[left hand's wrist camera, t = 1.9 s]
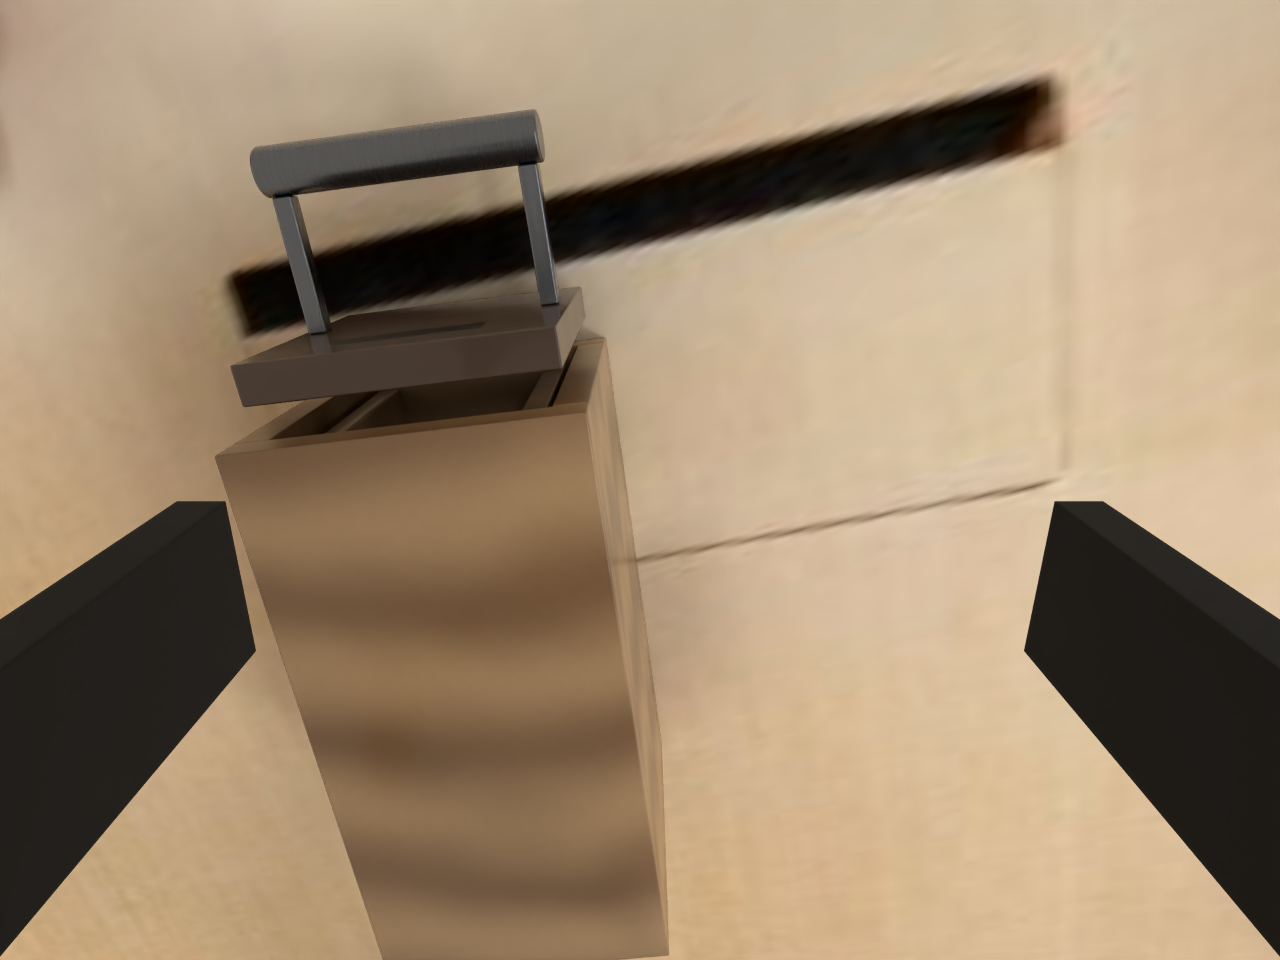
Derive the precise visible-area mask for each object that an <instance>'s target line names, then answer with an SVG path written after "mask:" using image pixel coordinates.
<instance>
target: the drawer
mask: <svg viewBox="0 0 1280 960" xmlns="http://www.w3.org/2000/svg"><path fill="white" fill-rule="evenodd" d="M544 158H545V149H544V140H543V134H542V128H541V123H540V119H539V116H538V113H537V111H536V110H534V109H532V110H524V111H517V112H510V113H502V114H495V115H488V116H480V117H473V118H466V119H458V120H451V121H444V122H436V123H429V124H422V125H414V126H407V127H399V128H392V129H385V130H377V131H370V132H363V133H355V134H348V135H341V136H333V137H326V138H319V139H311V140H304V141H297V142H289V143H282V144H275V145H267V146H260V147H255V148H254V149H253V150H252V151H251V154H250V166H251V171H252V174H253V177H254V180H255V182H256V184H257V186H258V188H259V189H260V191H261V192H262V193H263V194H264V195H265V196H266V197H269V198H273V203H274V207H275V211H276V214H277V218H278V222H279V225H280V229H281V233H282V236H283V240H284V244H285V247H286V251H287V255H288V258H289V262H290V266H291V269H292V273H293V277H294V280H295V284H296V288H297V291H298V295H299V299H300V302H301V306H302V310H303V313H304V317H305V321H306V324H307V328H308V332H309V333H307V334H304V335H302V336H299V337H297V338H295V339H292V340H290V341H288V342H285V343H283V344H281V345H278V346H276V347H274V348H271V349H269V350H267V351H264V352H262V353H259V354H257V355H255V356H252V357H250V358H248V359H245V360H243V361H241V362H238V363H236V364H234V365H232V366H231V370H232V373H233V377H234V380H235V383H236V386H237V389H238V392H239V396H240V399H241V402H242V405H243V407H251V406H259V405H267V404H276V403H284V402H292V401H301V400H309V399H317V398H325V397H334V396H342V395H350V394H359V393H367V392H375V391H380V392H379V393H377V394H376V395H375V396H373V397H372V398H371V399H369V400H368V401H367V402H365V403H364V404H363V405H361V406H360V407H359V408H358V409H356V410H355V411H354V412H352V413H351V414H350V415H348V416H347V417H346V418H344V419H343V420H342V421H341V422H339V423H338V424H337V425H335V426H334V427H333V428H331V429H330V430H329V431H327V432H326V433H335V432H343V431H352V430H360V429H369V428H377V427H386V426H394V425H402V424H411V423H419V422H428V421H436V420H445V419H453V418H462V417H470V416H479V415H487V414H496V413H504V412H513V411H521V410H530V409H538V408H547V407H553V404H554V402H555V400H556V397H557V395H558V392H559V390H560V388H561V385H562V383H563V380H564V378H565V376H566V373H567V369H566V365H564V363H565V361H566V359H567V356H568V354H569V352H570V350H571V348H572V345H573V343H574V341H575V339H576V337H577V334H578V332H579V330H580V328H581V326H582V323H583V321H584V319H585V311H584V304H583V297H582V290H581V287H572V288H564V289H558V282H557V276H556V269H555V263H554V256H553V250H552V244H551V237H550V231H549V224H548V218H547V211H546V205H545V199H544V192H543V186H542V179H541V173H540V166H539V164H537V163H541V162H543V161H544ZM518 165H519V166H518ZM511 166H518V170H519V177H520V183H521V189H522V195H523V201H524V207H525V213H526V219H527V225H528V231H529V237H530V243H531V249H532V255H533V261H534V268H535V274H536V280H537V286H538V292H532V293H524V294H516V295H508V296H500V297H492V298H484V299H476V300H468V301H460V302H452V303H444V304H436V305H428V306H420V307H412V308H404V309H396V310H388V311H380V312H372V313H364V314H356V315H349V316H347V317H344V318H342V319H340V320H337V321H335V322H332V323H331V322H330V319H329V315H328V311H327V307H326V303H325V300H324V296H323V292H322V288H321V284H320V280H319V277H318V273H317V269H316V265H315V261H314V258H313V254H312V250H311V246H310V242H309V238H308V235H307V231H306V227H305V223H304V219H303V215H302V212H301V208H300V204H299V200H298V197H297V196H292V195H300V194H307V193H315V192H322V191H330V190H337V189H345V188H352V187H360V186H367V185H375V184H383V183H390V182H398V181H405V180H413V179H420V178H428V177H435V176H443V175H450V174H458V173H465V172H473V171H480V170H488V169H495V168H503V167H511ZM326 433H325V434H326Z"/></svg>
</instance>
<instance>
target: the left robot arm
mask: <svg viewBox="0 0 1280 960" xmlns="http://www.w3.org/2000/svg"><path fill="white" fill-rule="evenodd" d="M255 651H256V649H255V644H254V639H253V634H252V629H251V624H250V619H249V615H248V610H247V605H246V600H245V595H244V590H243V585H242V580H241V576H240V571H239V566H238V561H237V556H236V551H235V546H234V541H233V536H232V532H231V527H230V522H229V517H228V512H227V507H226V502H225V501H177V502H175V503H174V504H172V505H171V506H169V507H168V508H166V509H165V510H163V511H162V512H160V513H159V514H157V515H156V516H154V517H153V518H151V519H150V520H148V521H147V522H145V523H144V524H142V525H141V526H139V527H138V528H136V529H135V530H133V531H132V532H130V533H129V534H127V535H126V536H124V537H123V538H121V539H120V540H118V541H117V542H115V543H114V544H112V545H111V546H109V547H108V548H106V549H105V550H103V551H102V552H100V553H99V554H97V555H96V556H94V557H93V558H91V559H90V560H88V561H87V562H85V563H84V564H83V565H81V566H80V567H78V568H77V569H75V570H74V571H72V572H71V573H69V574H68V575H66V576H65V577H63V578H62V579H60V580H59V581H57V582H56V583H54V584H53V585H51V586H50V587H48V588H47V589H45V590H44V591H42V592H41V593H39V594H38V595H36V596H35V597H33V598H32V599H30V600H29V601H27V602H26V603H24V604H23V605H21V606H20V607H18V608H17V609H15V610H14V611H12V612H11V613H9V614H8V615H6V616H5V617H3V618H2V619H0V956H1V955H2V954H3V953H4V951H5V950H6V949H7V948H8V947H9V945H10V944H11V943H12V942H13V941H14V939H15V938H16V937H17V936H18V935H19V933H20V932H21V931H22V930H23V929H24V927H25V926H26V925H27V924H28V923H29V921H30V920H31V919H32V918H33V917H34V915H35V914H36V913H37V912H38V911H39V910H40V908H41V907H42V906H43V905H44V904H45V902H46V901H47V900H48V899H49V898H50V896H51V895H52V894H53V893H54V892H55V890H56V889H57V888H58V887H59V886H60V884H61V883H62V882H63V881H64V880H65V878H66V877H67V876H68V875H69V874H70V872H71V871H72V870H73V869H74V868H75V866H76V865H77V864H78V863H79V862H80V861H81V859H82V858H83V857H84V856H85V855H86V853H87V852H88V851H89V850H90V849H91V847H92V846H93V845H94V844H95V843H96V841H97V840H98V839H99V838H100V837H101V835H102V834H103V833H104V832H105V831H106V829H107V828H108V827H109V826H110V825H111V823H112V822H113V821H114V820H115V819H116V818H117V816H118V815H119V814H120V813H121V812H122V810H123V809H124V808H125V807H126V806H127V804H128V803H129V802H130V801H131V800H132V798H133V797H134V796H135V795H136V794H137V792H138V791H139V790H140V789H141V788H142V786H143V785H144V784H145V783H146V782H147V780H148V779H149V778H150V777H151V776H152V774H153V773H154V772H155V771H156V770H157V769H158V767H159V766H160V765H161V764H162V763H163V761H164V760H165V759H166V758H167V757H168V755H169V754H170V753H171V752H172V751H173V749H174V748H175V747H176V746H177V745H178V743H179V742H180V741H181V740H182V739H183V737H184V736H185V735H186V734H187V733H188V731H189V730H190V729H191V728H192V727H193V725H194V724H195V723H196V722H197V721H198V720H199V718H200V717H201V716H202V715H203V714H204V712H205V711H206V710H207V709H208V708H209V706H210V705H211V704H212V703H213V702H214V700H215V699H216V698H217V697H218V696H219V694H220V693H221V692H222V691H223V690H224V688H225V687H226V686H227V685H228V684H229V682H230V681H231V680H232V679H233V678H234V677H235V675H236V674H237V673H238V672H239V671H240V669H241V668H242V667H243V666H244V665H245V663H246V662H247V661H248V660H249V659H250V657H251V656H252V655H253V654H254V653H255ZM1024 651H1025V653H1026V654H1027V655H1028V656H1029V657H1030V659H1031V660H1032V661H1033V662H1034V663H1035V665H1036V666H1037V667H1038V668H1039V669H1040V671H1041V672H1042V673H1043V674H1044V675H1045V677H1046V678H1047V679H1048V680H1049V681H1050V682H1051V684H1052V685H1053V686H1054V687H1055V688H1056V690H1057V691H1058V692H1059V693H1060V694H1061V696H1062V697H1063V698H1064V699H1065V700H1066V702H1067V703H1068V704H1069V705H1070V706H1071V708H1072V709H1073V710H1074V711H1075V712H1076V714H1077V715H1078V716H1079V717H1080V718H1081V720H1082V721H1083V722H1084V723H1085V724H1086V725H1087V727H1088V728H1089V729H1090V730H1091V731H1092V733H1093V734H1094V735H1095V736H1096V737H1097V739H1098V740H1099V741H1100V742H1101V743H1102V745H1103V746H1104V747H1105V748H1106V749H1107V751H1108V752H1109V753H1110V754H1111V755H1112V757H1113V758H1114V759H1115V760H1116V761H1117V763H1118V764H1119V765H1120V766H1121V767H1122V769H1123V770H1124V771H1125V772H1126V773H1127V774H1128V776H1129V777H1130V778H1131V779H1132V780H1133V782H1134V783H1135V784H1136V785H1137V786H1138V788H1139V789H1140V790H1141V791H1142V792H1143V794H1144V795H1145V796H1146V797H1147V798H1148V800H1149V801H1150V802H1151V803H1152V804H1153V806H1154V807H1155V808H1156V809H1157V810H1158V812H1159V813H1160V814H1161V815H1162V816H1163V818H1164V819H1165V820H1166V821H1167V822H1168V823H1169V825H1170V826H1171V827H1172V828H1173V829H1174V831H1175V832H1176V833H1177V834H1178V835H1179V837H1180V838H1181V839H1182V840H1183V841H1184V843H1185V844H1186V845H1187V846H1188V847H1189V849H1190V850H1191V851H1192V852H1193V853H1194V855H1195V856H1196V857H1197V858H1198V859H1199V861H1200V862H1201V863H1202V864H1203V865H1204V866H1205V868H1206V869H1207V870H1208V871H1209V872H1210V874H1211V875H1212V876H1213V877H1214V878H1215V880H1216V881H1217V882H1218V883H1219V884H1220V886H1221V887H1222V888H1223V889H1224V890H1225V892H1226V893H1227V894H1228V895H1229V896H1230V898H1231V899H1232V900H1233V901H1234V902H1235V904H1236V905H1237V906H1238V907H1239V908H1240V910H1241V911H1242V912H1243V913H1244V914H1245V915H1246V917H1247V918H1248V919H1249V920H1250V921H1251V923H1252V924H1253V925H1254V926H1255V927H1256V929H1257V930H1258V931H1259V932H1260V933H1261V935H1262V936H1263V937H1264V938H1265V939H1266V941H1267V942H1268V943H1269V944H1270V945H1271V947H1272V948H1273V949H1274V950H1275V951H1276V953H1277V954H1278V955H1279V956H1280V619H1278V618H1277V617H1275V616H1274V615H1272V614H1271V613H1269V612H1268V611H1266V610H1265V609H1263V608H1262V607H1260V606H1259V605H1257V604H1256V603H1254V602H1253V601H1251V600H1250V599H1248V598H1247V597H1245V596H1244V595H1242V594H1241V593H1239V592H1238V591H1236V590H1235V589H1233V588H1232V587H1230V586H1229V585H1227V584H1226V583H1224V582H1223V581H1221V580H1220V579H1218V578H1217V577H1215V576H1214V575H1212V574H1211V573H1209V572H1208V571H1206V570H1205V569H1203V568H1202V567H1200V566H1199V565H1197V564H1196V563H1194V562H1193V561H1192V560H1190V559H1189V558H1187V557H1186V556H1184V555H1183V554H1181V553H1180V552H1178V551H1177V550H1175V549H1174V548H1172V547H1171V546H1169V545H1168V544H1166V543H1165V542H1163V541H1162V540H1160V539H1159V538H1157V537H1156V536H1154V535H1153V534H1151V533H1150V532H1148V531H1147V530H1145V529H1144V528H1142V527H1141V526H1139V525H1138V524H1136V523H1135V522H1133V521H1132V520H1130V519H1129V518H1127V517H1126V516H1124V515H1123V514H1121V513H1120V512H1118V511H1117V510H1115V509H1114V508H1112V507H1111V506H1109V505H1108V504H1106V503H1105V502H1103V501H1055V502H1054V507H1053V512H1052V517H1051V522H1050V527H1049V532H1048V536H1047V541H1046V546H1045V551H1044V556H1043V561H1042V566H1041V571H1040V576H1039V580H1038V585H1037V590H1036V595H1035V600H1034V605H1033V610H1032V615H1031V619H1030V624H1029V629H1028V634H1027V639H1026V644H1025V649H1024Z"/></svg>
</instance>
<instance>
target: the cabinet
mask: <svg viewBox="0 0 1280 960" xmlns="http://www.w3.org/2000/svg"><path fill="white" fill-rule="evenodd" d="M564 365H566V369H567V373H566V376H565V378H564V380H563V383H562V385H561V388H560V390H559V392H558V395H557V397H556V400H555V402H554V404H553V407H547V408H538V409H530V410H521V411H513V412H504V413H496V414H487V415H479V416H470V417H462V418H453V419H445V420H436V421H428V422H419V423H411V424H402V425H394V426H386V427H377V428H369V429H360V430H352V431H343V432H335V433H326V432H327V431H329V430H330V429H331V428H333V427H334V426H335V425H337V424H338V423H339V422H341V421H342V420H343V419H344V418H346V417H347V416H348V415H350V414H351V413H352V412H354V411H355V410H356V409H358V408H359V407H360V406H361V405H363V404H364V403H365V402H367V401H368V400H369V399H371V398H372V397H373V396H375V395H376V394H377V393H379V392H380V391H375V392H367V393H359V394H350V395H342V396H334V397H325V398H317V399H309V400H305V401H303V402H301V403H300V404H298V405H297V406H295V407H293V408H292V409H290V410H289V411H287V412H285V413H284V414H282V415H280V416H279V417H277V418H276V419H274V420H272V421H271V422H269V423H268V424H266V425H264V426H263V427H261V428H260V429H258V430H256V431H255V432H253V433H251V434H250V435H248V436H247V437H245V438H243V439H242V440H240V441H239V442H237V443H235V444H234V445H232V446H231V447H229V448H227V449H226V450H224V451H223V452H221V453H219V454H218V455H216V456H215V459H216V462H217V465H218V468H219V471H220V474H221V477H222V480H223V483H224V486H225V489H226V492H227V495H228V498H229V501H230V504H231V507H232V510H233V513H234V516H235V519H236V522H237V525H238V528H239V531H240V534H241V537H242V540H243V543H244V546H245V549H246V552H247V555H248V558H249V561H250V564H251V567H252V570H253V573H254V576H255V579H256V582H257V585H258V588H259V591H260V594H261V597H262V600H263V603H264V606H265V608H266V611H267V614H268V617H269V620H270V623H271V626H272V629H273V632H274V635H275V638H276V641H277V644H278V647H279V650H280V653H281V656H282V659H283V662H284V665H285V668H286V671H287V674H288V677H289V680H290V683H291V686H292V689H293V692H294V695H295V698H296V701H297V704H298V707H299V710H300V713H301V716H302V719H303V722H304V725H305V728H306V731H307V734H308V737H309V740H310V743H311V746H312V749H313V752H314V755H315V758H316V761H317V764H318V767H319V770H320V773H321V776H322V779H323V782H324V785H325V788H326V791H327V794H328V797H329V800H330V803H331V806H332V809H333V812H334V815H335V818H336V821H337V824H338V827H339V829H340V832H341V835H342V838H343V841H344V844H345V847H346V850H347V853H348V856H349V859H350V862H351V865H352V868H353V871H354V874H355V877H356V880H357V883H358V886H359V889H360V892H361V895H362V898H363V901H364V904H365V907H366V910H367V913H368V916H369V919H370V922H371V925H372V928H373V931H374V934H375V937H376V940H377V943H378V946H379V949H380V952H381V955H382V958H383V960H620V959H632V958H644V957H656V956H668V955H669V936H668V907H667V879H666V850H665V821H664V792H663V763H662V743H661V736H660V728H659V721H658V714H657V707H656V699H655V692H654V685H653V677H652V670H651V663H650V656H649V648H648V641H647V634H646V627H645V619H644V612H643V605H642V597H641V590H640V583H639V576H638V568H637V561H636V554H635V546H634V539H633V532H632V525H631V517H630V510H629V503H628V496H627V488H626V481H625V474H624V466H623V459H622V452H621V445H620V437H619V430H618V423H617V416H616V408H615V401H614V394H613V386H612V379H611V372H610V365H609V357H608V350H607V343H606V339H605V338H599V339H591V340H582V341H574V343H573V345H572V348H571V350H570V352H569V354H568V356H567V359H566V361H565V363H564ZM325 433H326V434H325Z"/></svg>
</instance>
